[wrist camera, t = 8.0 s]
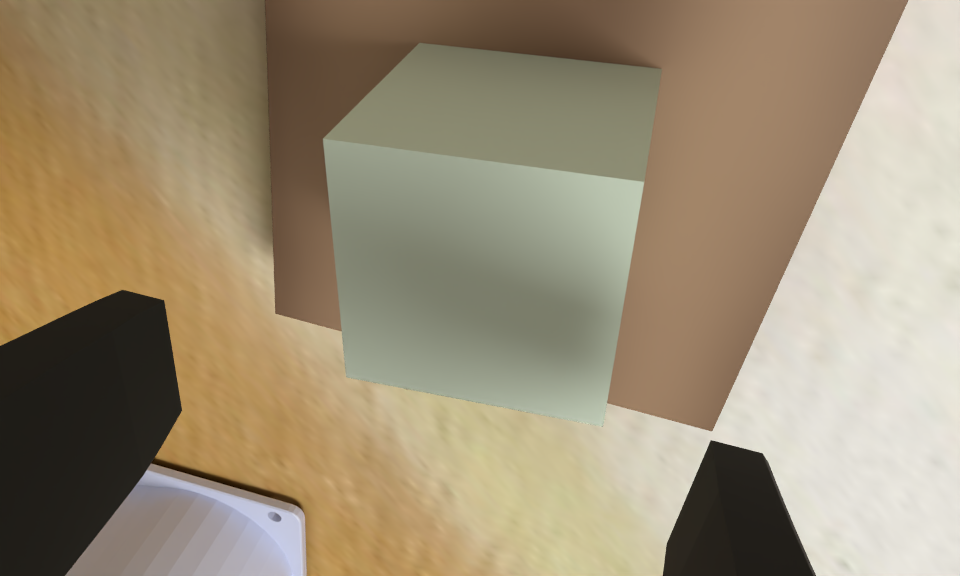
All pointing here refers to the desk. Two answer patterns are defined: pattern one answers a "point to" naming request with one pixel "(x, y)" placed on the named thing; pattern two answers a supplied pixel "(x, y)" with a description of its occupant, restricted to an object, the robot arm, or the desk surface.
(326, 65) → the walnut block
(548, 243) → the sage block
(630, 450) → the desk surface
